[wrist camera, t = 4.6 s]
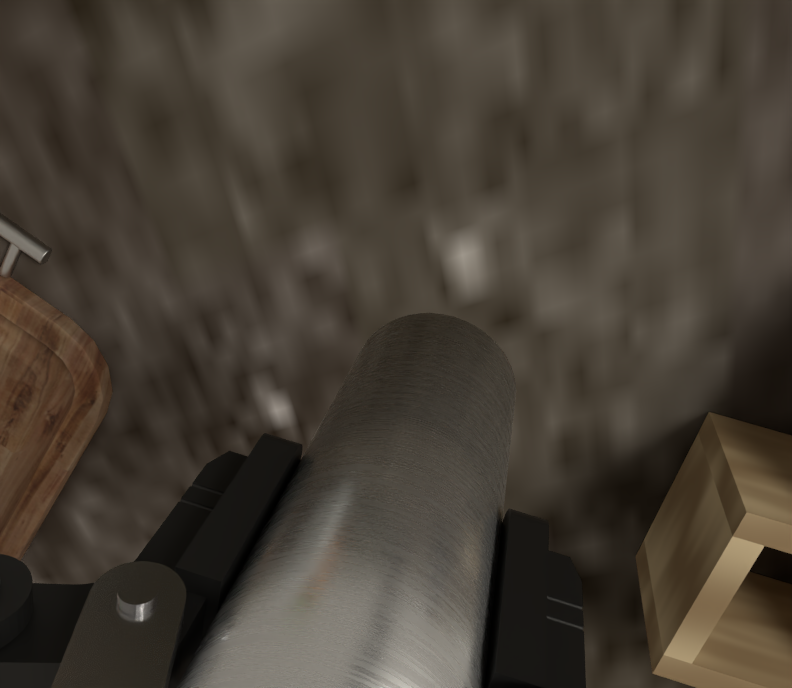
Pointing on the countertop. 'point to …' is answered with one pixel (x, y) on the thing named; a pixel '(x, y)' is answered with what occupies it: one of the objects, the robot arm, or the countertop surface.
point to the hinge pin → (381, 528)
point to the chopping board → (40, 397)
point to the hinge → (721, 562)
